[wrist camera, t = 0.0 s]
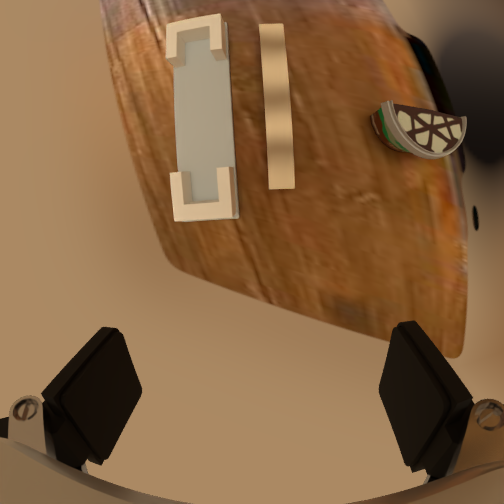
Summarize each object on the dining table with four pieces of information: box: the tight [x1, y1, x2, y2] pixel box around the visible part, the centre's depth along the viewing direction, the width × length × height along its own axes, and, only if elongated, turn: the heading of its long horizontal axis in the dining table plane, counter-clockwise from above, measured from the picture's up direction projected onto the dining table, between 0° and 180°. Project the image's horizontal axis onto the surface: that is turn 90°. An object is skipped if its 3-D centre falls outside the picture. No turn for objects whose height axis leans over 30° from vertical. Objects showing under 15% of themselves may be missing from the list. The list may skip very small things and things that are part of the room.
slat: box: [259, 24, 295, 189], centre depth 31 cm, size 22×3×6 cm, turn 3°
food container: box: [370, 100, 466, 159], centre depth 29 cm, size 12×6×10 cm, turn 93°
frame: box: [166, 14, 240, 222], centre depth 33 cm, size 30×8×5 cm, turn 4°
